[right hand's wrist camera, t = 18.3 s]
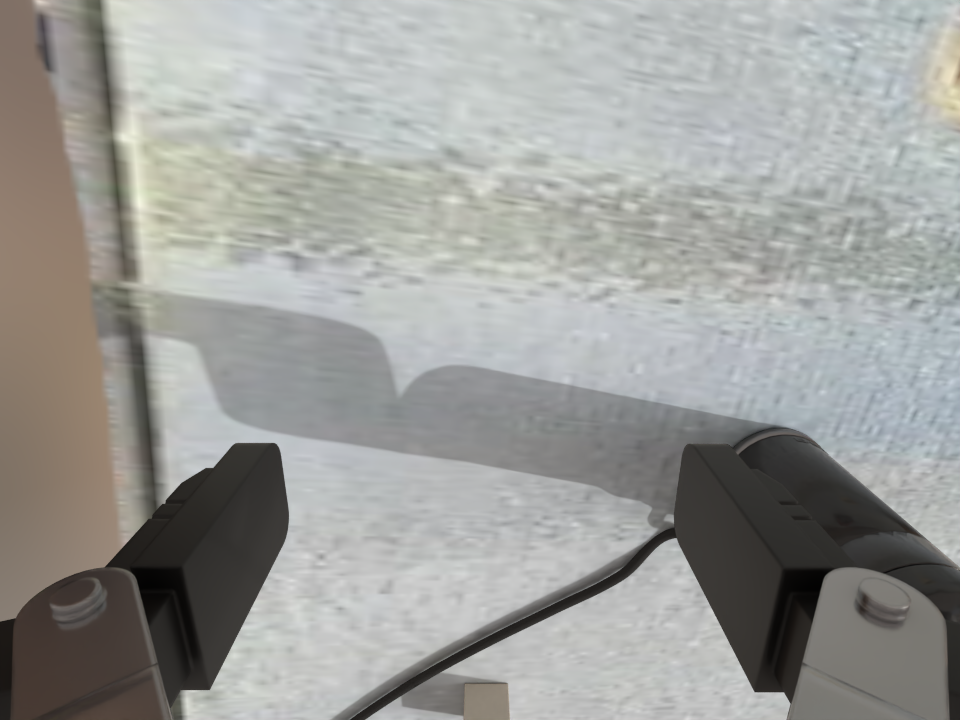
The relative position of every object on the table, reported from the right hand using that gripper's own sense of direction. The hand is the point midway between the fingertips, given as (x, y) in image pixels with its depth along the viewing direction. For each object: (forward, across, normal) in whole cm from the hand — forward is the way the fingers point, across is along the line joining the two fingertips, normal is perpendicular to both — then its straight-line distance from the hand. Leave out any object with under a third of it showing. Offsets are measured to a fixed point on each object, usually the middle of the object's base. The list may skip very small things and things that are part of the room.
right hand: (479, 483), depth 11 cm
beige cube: (+34, -1, +49) cm, 60 cm away
